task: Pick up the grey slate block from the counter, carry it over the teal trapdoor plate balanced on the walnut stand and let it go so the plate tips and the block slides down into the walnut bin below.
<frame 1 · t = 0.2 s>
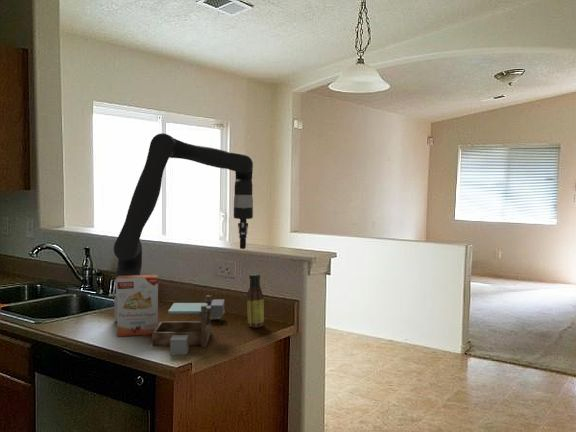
hand: (242, 247, 207), 29 cm above the worktop, tool pointing down, fingers open, 8 cm apart
frame: (182, 339, 182), on the worktop
trapdoor: (197, 308, 182), point 11 cm above the worktop, hinge at 0.0°
sauce bottle: (255, 326, 200), on the worktop
game die: (215, 320, 208), on the worktop
cracker box: (137, 334, 188), on the worktop
stone: (179, 352, 168), on the worktop
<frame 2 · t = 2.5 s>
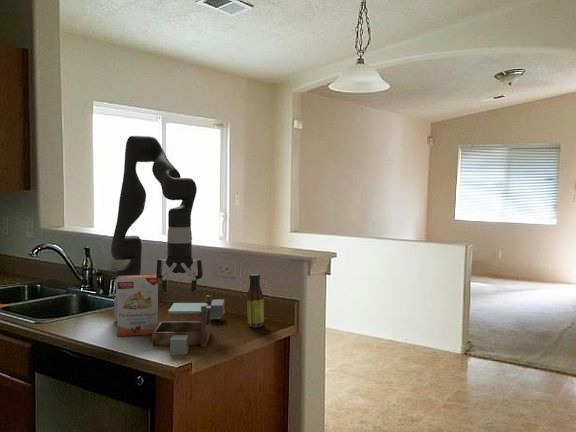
hand: (179, 291, 167), 20 cm above the worktop, tool pointing down, fingers open, 8 cm apart
nothing on the worktop moved.
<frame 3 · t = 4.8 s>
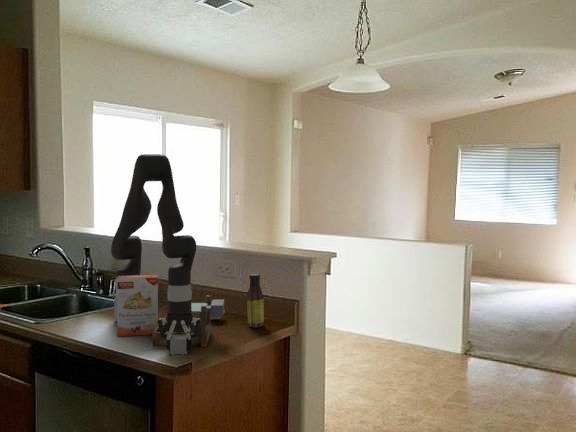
hand: (179, 350, 168), 1 cm above the worktop, tool pointing down, fingers closed on stone, 5 cm apart
stone: (179, 352, 168), on the worktop, touching gripper
everything else where it was.
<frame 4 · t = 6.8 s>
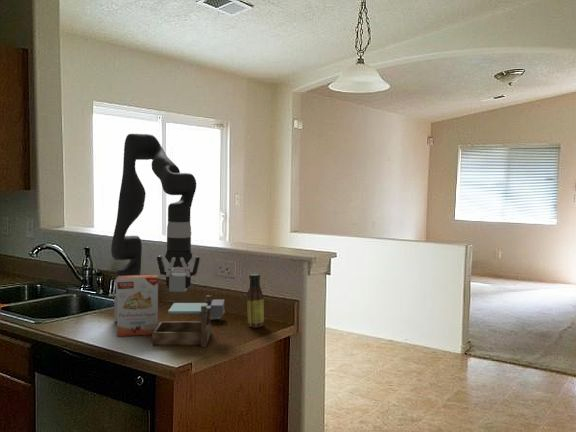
hand: (178, 287, 169), 21 cm above the worktop, tool pointing down, fingers closed on stone, 5 cm apart
stone: (178, 289, 169), point 20 cm above the worktop, touching gripper
everything else where it was.
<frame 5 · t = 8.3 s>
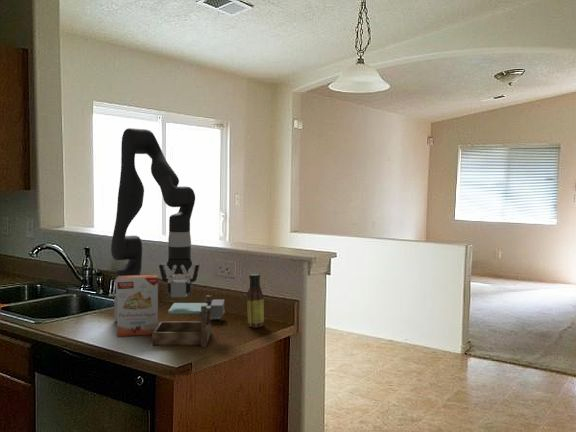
hand: (179, 293, 181), 16 cm above the worktop, tool pointing down, fingers closed on stone, 5 cm apart
stone: (179, 295, 181), point 15 cm above the worktop, touching gripper
everything else where it was.
when the fingers open (15 cm above the worktop, at t = 8.9 s): stone drops 11 cm and tips over, resting on frame, trapdoor.
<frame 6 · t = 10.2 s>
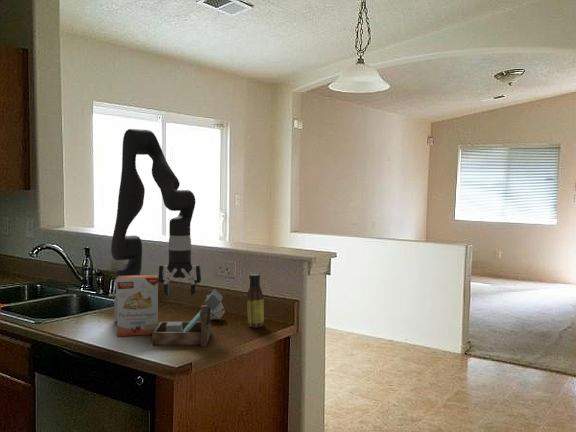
hand: (179, 294, 181), 16 cm above the worktop, tool pointing down, fingers open, 8 cm apart
trapdoor: (200, 314, 182), point 9 cm above the worktop, hinge at -47.9°, touching stone
stone: (181, 330, 182), point 3 cm above the worktop, tilted 90°, touching frame, trapdoor
everything else where it was.
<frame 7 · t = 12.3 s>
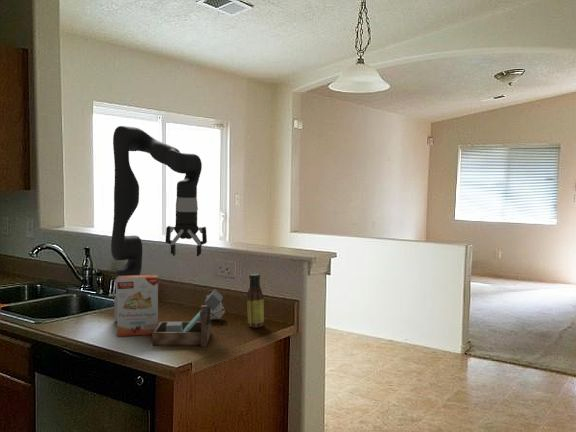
hand: (186, 255, 187), 28 cm above the worktop, tool pointing down, fingers open, 8 cm apart
nothing on the worktop moved.
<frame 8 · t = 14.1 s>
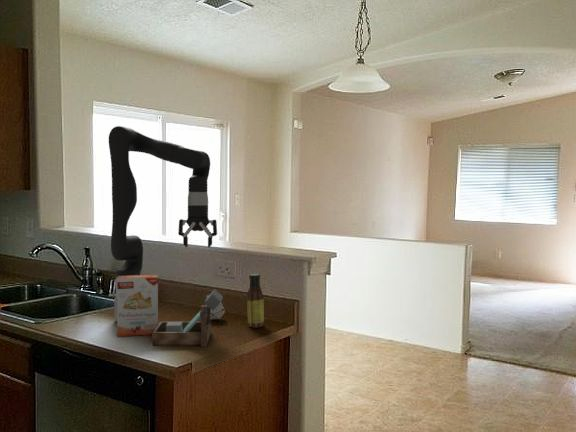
hand: (197, 246, 198), 30 cm above the worktop, tool pointing down, fingers open, 8 cm apart
nothing on the worktop moved.
at the end: stone point 3.1 cm above the worktop; stone inside the target area (0.4 cm from its centre), point 3.1 cm above the worktop; the gripper is holding nothing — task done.
